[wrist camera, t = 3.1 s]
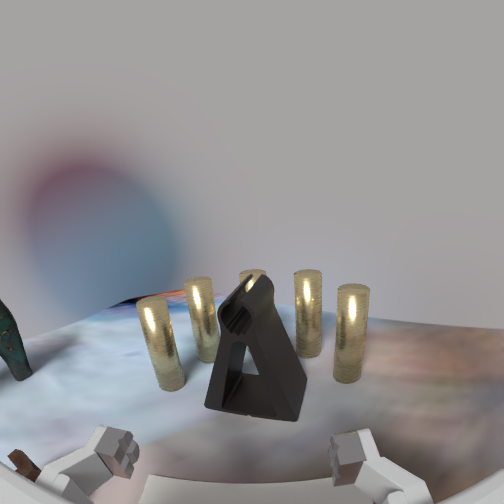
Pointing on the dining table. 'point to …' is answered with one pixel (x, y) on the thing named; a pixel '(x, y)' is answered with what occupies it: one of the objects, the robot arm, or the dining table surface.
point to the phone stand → (255, 358)
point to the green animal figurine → (12, 345)
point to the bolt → (24, 465)
